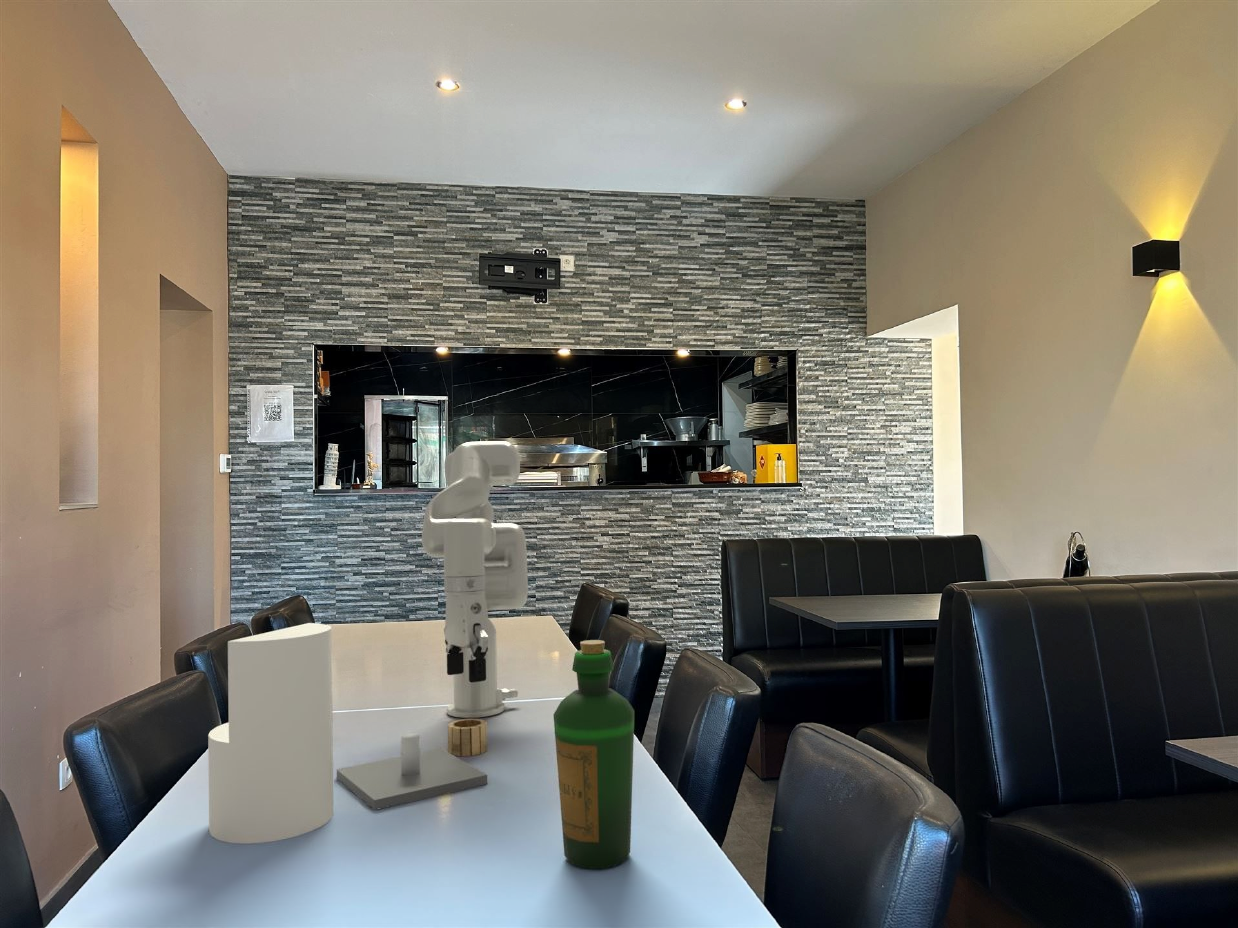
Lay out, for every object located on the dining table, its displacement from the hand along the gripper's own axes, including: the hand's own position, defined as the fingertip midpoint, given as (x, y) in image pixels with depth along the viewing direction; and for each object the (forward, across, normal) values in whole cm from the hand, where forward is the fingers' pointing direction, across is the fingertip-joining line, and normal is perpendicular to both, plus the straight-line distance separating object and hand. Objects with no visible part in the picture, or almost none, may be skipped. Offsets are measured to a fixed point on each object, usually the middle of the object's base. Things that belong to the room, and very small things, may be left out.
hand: (466, 677), depth 164 cm
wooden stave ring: (+14, +1, 0) cm, 14 cm away
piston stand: (+14, -9, +14) cm, 22 cm away
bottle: (+15, -54, +6) cm, 57 cm away
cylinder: (+15, -13, +38) cm, 42 cm away
